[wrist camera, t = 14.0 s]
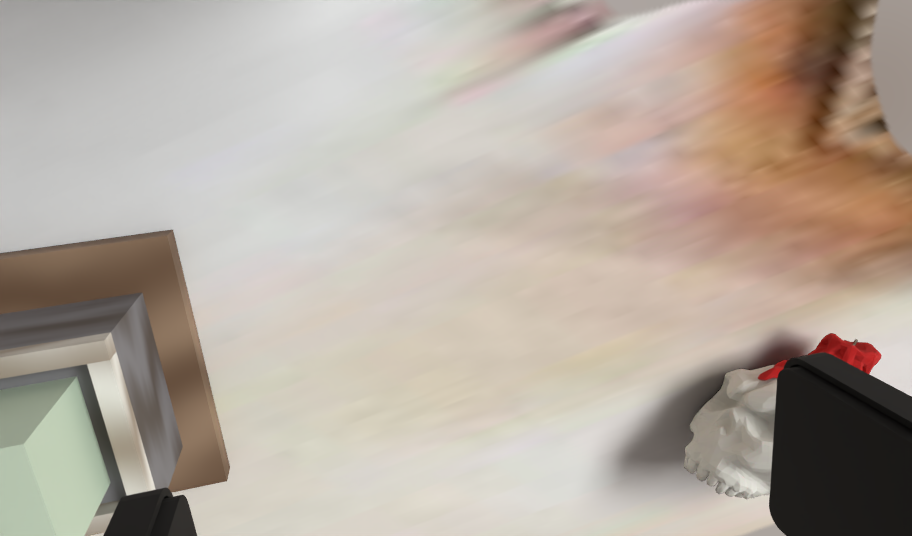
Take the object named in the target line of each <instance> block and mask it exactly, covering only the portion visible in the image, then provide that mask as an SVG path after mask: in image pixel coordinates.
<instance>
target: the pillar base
mask: <svg viewBox="0 0 912 536" xmlns="http://www.w3.org/2000/svg"><path fill="white" fill-rule="evenodd" d="M76 376H77V378H78V381H79V385H80V388H81V391H82V394H83V397H84V400H85V403H86V407H87V410H88V413H89V416H90V419H91V422H92V426H93V429H94V432H95V435H96V438H97V441H98V445H99V448H100V451H101V454H102V457H103V460H104V464H105V467H106V470H107V473H108V476H109V479H110V482H111V483H110V485H109V487H108V489H107V491H106V493H105V495H104V497H103V499H102V501H101V503H100V505H99V507H98V509H97V511H96V513H95V515H94V517H93V519H92V521H91V523H90V525H89V527H88V529H87V531H86V533H85V535H84V536H90V535H95V534H99V533H104V532H105V531H106V529H107V527H108V524H109V522H110V520H111V518H112V516H113V513H114V511H115V509H116V507H117V505H118V502H119V501H120V499H121V498H122V497H124V496H127V495H132V494H137V493H141V492H146V491H151V490H156V489H161V488H168V489H169V490H170V491H171V492H176V491H181V490H186V489H190V488H195V487H200V486H205V485H210V484H215V483H219V482H224V481H227V479H228V474H229V469H230V466H229V462H228V458H227V453H226V449H225V445H224V441H223V437H222V433H221V428H220V424H219V420H218V416H217V412H216V408H215V403H214V399H213V395H212V391H211V387H210V383H209V378H208V374H207V370H206V366H205V362H204V358H203V353H202V349H201V345H200V341H199V337H198V333H197V328H196V324H195V320H194V316H193V312H192V308H191V303H190V299H189V295H188V291H187V287H186V283H185V279H184V274H183V270H182V266H181V262H180V258H179V254H178V249H177V245H176V241H175V237H174V233H173V230H167V231H160V232H152V233H145V234H138V235H131V236H123V237H116V238H109V239H102V240H95V241H87V242H80V243H73V244H66V245H58V246H51V247H44V248H37V249H29V250H22V251H15V252H8V253H0V390H3V389H9V388H14V387H20V386H26V385H31V384H37V383H42V382H48V381H54V380H59V379H65V378H71V377H76Z"/></svg>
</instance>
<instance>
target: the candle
mask: <svg viewBox="0 0 912 536" xmlns="http://www.w3.org/2000/svg"><path fill="white" fill-rule="evenodd" d="M822 352H826V353H829V354H831V355H833V356H835V357H837V358H839V359H841V360H843V361H845V362H847V363H848V364H850V365H852V366H854V367H856V368H858V369H860V370H862V371H864V372H866V373H867V374H870V372H871V369H872V368H873V367H874V365H876V364H877V363H878V361H879V360H880V359H881V354H880V353H879V352H878V351H877V350H876V349H875V348H874V347H873V345H871V344H869V343H863V342H858V340H857V339H856V340H855V341H854V342H849V341H846V340H844V341H843V340H842V339H841V338H839V337H838V336H837V335H836V334H833V333H830V334H828V335H826V336H825V337H824V338H823V339H822V340H821V342H820V343H819V345H818V346H817V348H816V349H815V350H814V351H812V352H811V353H809V354H808V355H810V354H815V353H822ZM789 360H790V359H789ZM787 361H788V360H783V361H781V362H778V363H777V364H776V365H770V366H766V367H763V368H759V369H754V370H746V369H737V370H734V371H731V372H728V373H726V375H725V378H724V382H723V385H722V387H721V389H720V390H719V391H718V392H717V393H716V394H715V396H714V397H713V398H712V399H710V400H709V401H708V402H707V403H706V404H704V406H703V407H702V408H701V409H700V410H699V411H698V413H697V414H696V415H695V416H694V418H693V420H692V422H691V424H690V430H691V431H692V432H693V433H694V436H693V440H692V441H691V442H690V443H689V444H688V445H687V446H686V447H685V454H686V456H685V461H684V468H686V469H687V471H688V472H690V473H691V474H693V473H695V471H696V470H697V475H696V476H697V478H698V479H699V480H700V481H705V480H706V478H707V477H708V479H707V484H708V485H710V486H715V485H716V484H717V483H718V482H719V484H718V486H717V488H716V492H717V493H718V494H722V493H724V492H725V491H726V492H725V494H726V495H727V496H730V497H732V496H735V497H740V498H742V497H743V498H745V499H749V498H754V497H758V496H761V495H769V494H770V483H771V468H772V452H773V436H774V420H775V404H776V389H777V377H778V374H779V372H780V371H781V370H783V369H784V365H785V364H786V362H787Z"/></svg>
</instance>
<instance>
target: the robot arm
mask: <svg viewBox="0 0 912 536" xmlns="http://www.w3.org/2000/svg"><path fill="white" fill-rule="evenodd" d="M769 509H770V513H771V516H772V518H773V520H774V522H775V524H776V525H777V527H778V528H779V529H780V530H781V531H782V532H783V533H784V534H785V535H786V536H912V397H911V396H909V395H907V394H905V393H904V392H902V391H900V390H898V389H896V388H894V387H892V386H890V385H888V384H886V383H885V382H883V381H881V380H879V379H877V378H875V377H873V376H871V375H869V374H867V373H866V372H864V371H862V370H860V369H858V368H856V367H854V366H852V365H850V364H848V363H847V362H845V361H843V360H841V359H839V358H837V357H835V356H833V355H831V354H829V353H826V352H822V353H815V354H810V355H806V356H801V357H796V358H791V359H790V360H788V361H787V362H786V364H785V365H784V369H783V370H781V371H780V372H779V374H778V377H777V389H776V404H775V420H774V436H773V452H772V468H771V483H770V499H769ZM104 536H197V534H196V530H195V526H194V522H193V519H192V515H191V511H190V508H189V504H188V501H187V499H186V497H185V496H184V495H179V496H175V497H173V495H172V493H171V491H170V490H169V489H168V488H161V489H156V490H151V491H146V492H141V493H137V494H132V495H127V496H124V497H122V498H121V499H120V501H119V502H118V505H117V507H116V509H115V511H114V513H113V516H112V518H111V520H110V522H109V524H108V527H107V529H106V531H105V533H104Z"/></svg>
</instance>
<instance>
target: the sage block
mask: <svg viewBox="0 0 912 536" xmlns="http://www.w3.org/2000/svg"><path fill="white" fill-rule="evenodd" d="M110 483H111V482H110V479H109V476H108V473H107V470H106V467H105V464H104V460H103V457H102V454H101V451H100V448H99V445H98V441H97V438H96V435H95V432H94V429H93V426H92V422H91V419H90V416H89V413H88V410H87V407H86V403H85V400H84V397H83V394H82V391H81V388H80V385H79V381H78V378H77V376H76V377H71V378H65V379H59V380H54V381H48V382H42V383H37V384H31V385H26V386H20V387H14V388H9V389H3V390H0V536H84V535H85V533H86V531H87V529H88V527H89V525H90V523H91V521H92V519H93V517H94V515H95V513H96V511H97V509H98V507H99V505H100V503H101V501H102V499H103V497H104V495H105V493H106V491H107V489H108V487H109V485H110Z"/></svg>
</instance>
